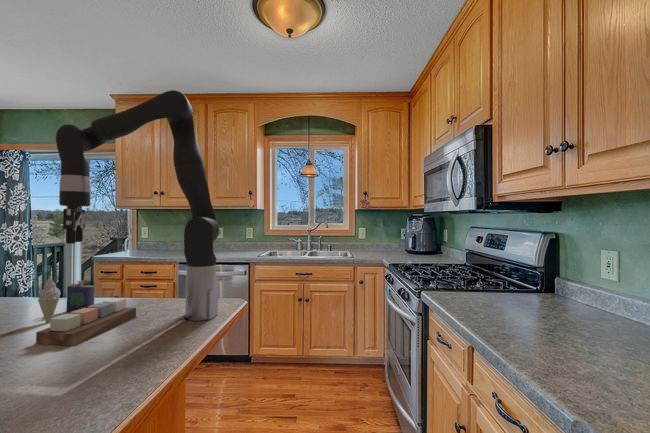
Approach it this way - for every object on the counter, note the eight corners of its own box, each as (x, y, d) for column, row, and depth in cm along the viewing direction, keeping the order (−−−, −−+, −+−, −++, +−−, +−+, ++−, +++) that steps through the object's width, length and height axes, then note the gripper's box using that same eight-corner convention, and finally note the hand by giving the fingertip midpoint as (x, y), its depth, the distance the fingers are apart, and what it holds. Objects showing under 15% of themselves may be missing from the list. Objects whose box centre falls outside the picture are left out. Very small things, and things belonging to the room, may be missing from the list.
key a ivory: (125, 308, 97) (126, 298, 97) (115, 311, 93) (116, 302, 93) (113, 307, 98) (113, 298, 98) (102, 311, 93) (103, 301, 94)
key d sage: (80, 325, 81) (80, 314, 81) (65, 331, 77) (66, 319, 77) (65, 325, 81) (65, 313, 81) (50, 330, 77) (50, 318, 77)
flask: (96, 311, 107) (96, 280, 107) (89, 313, 104) (89, 281, 105) (70, 310, 108) (71, 279, 108) (63, 312, 105) (63, 281, 105)
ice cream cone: (63, 324, 94) (64, 274, 94) (43, 329, 89) (45, 277, 89) (52, 322, 95) (54, 273, 95) (32, 327, 90) (34, 276, 91)
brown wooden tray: (137, 320, 98) (138, 307, 98) (74, 350, 75) (75, 334, 75) (105, 319, 99) (105, 306, 99) (33, 348, 76) (33, 332, 76)
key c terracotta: (97, 319, 86) (97, 308, 86) (84, 324, 82) (85, 312, 82) (83, 318, 87) (83, 307, 87) (70, 323, 82) (70, 312, 83)
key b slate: (112, 313, 92) (112, 303, 92) (101, 317, 88) (101, 307, 88) (99, 312, 92) (99, 302, 92) (87, 317, 88) (87, 306, 88)
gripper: (84, 189, 92) (84, 243, 92) (94, 193, 105) (94, 240, 105) (52, 188, 89) (51, 244, 88) (66, 192, 101) (66, 241, 101)
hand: (74, 242), depth 96 cm, fingers open, 8 cm apart
